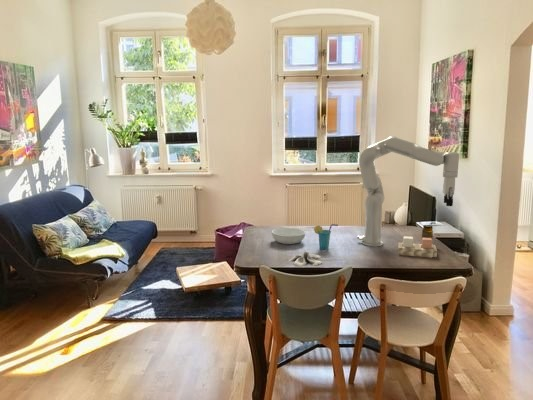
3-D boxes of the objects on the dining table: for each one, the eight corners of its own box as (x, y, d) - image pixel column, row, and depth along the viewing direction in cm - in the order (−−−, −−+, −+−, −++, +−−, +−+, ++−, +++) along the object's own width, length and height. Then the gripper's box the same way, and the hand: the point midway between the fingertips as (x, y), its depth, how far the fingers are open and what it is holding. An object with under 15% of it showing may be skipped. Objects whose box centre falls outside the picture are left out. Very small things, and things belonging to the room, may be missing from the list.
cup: (335, 246, 252) (335, 222, 250) (339, 250, 245) (339, 225, 242) (312, 247, 251) (312, 222, 248) (315, 251, 243) (316, 225, 240)
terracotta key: (421, 250, 236) (422, 239, 235) (421, 248, 240) (422, 237, 239) (431, 251, 234) (432, 240, 233) (430, 248, 239) (431, 238, 238)
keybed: (398, 254, 236) (398, 247, 236) (398, 248, 248) (398, 242, 247) (436, 257, 231) (437, 250, 230) (434, 251, 242) (435, 244, 241)
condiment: (435, 245, 255) (436, 226, 253) (426, 247, 250) (427, 228, 248) (424, 242, 261) (426, 223, 259) (415, 244, 256) (417, 225, 254)
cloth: (318, 255, 237) (318, 244, 236) (329, 266, 219) (329, 254, 218) (279, 257, 234) (279, 246, 232) (287, 268, 216) (287, 257, 214)
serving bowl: (293, 249, 247) (293, 237, 246) (264, 243, 260) (264, 232, 259) (311, 241, 264) (311, 230, 262) (284, 236, 276) (284, 226, 275)
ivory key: (403, 249, 238) (403, 238, 237) (403, 246, 243) (403, 236, 242) (412, 249, 237) (413, 238, 236) (412, 247, 242) (412, 236, 241)
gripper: (441, 172, 245) (438, 201, 248) (445, 176, 228) (443, 207, 231) (454, 172, 243) (452, 202, 246) (460, 176, 226) (457, 207, 229)
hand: (448, 204), depth 238 cm, fingers open, 9 cm apart
